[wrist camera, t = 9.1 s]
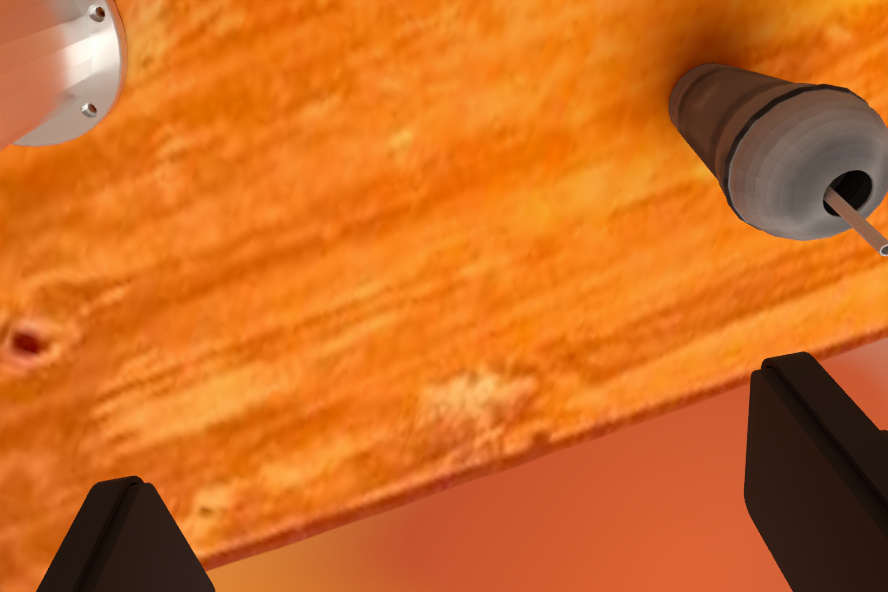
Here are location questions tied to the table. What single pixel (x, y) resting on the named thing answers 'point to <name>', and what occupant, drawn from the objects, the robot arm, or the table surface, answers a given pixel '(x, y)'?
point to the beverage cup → (786, 151)
